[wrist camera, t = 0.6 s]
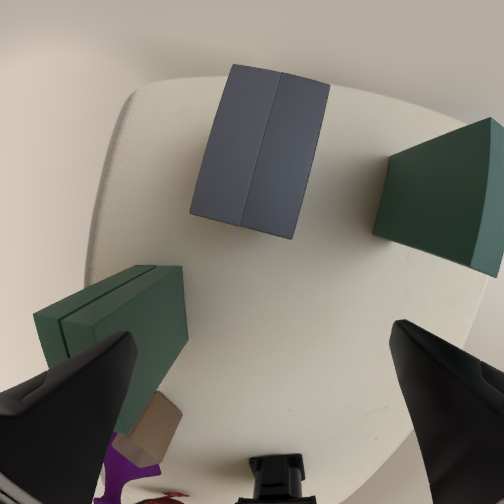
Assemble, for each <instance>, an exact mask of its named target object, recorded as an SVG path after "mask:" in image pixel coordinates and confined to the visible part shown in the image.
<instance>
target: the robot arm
mask: <svg viewBox="0 0 504 504" xmlns="http://www.w3.org/2000/svg"><path fill="white" fill-rule="evenodd" d="M389 346H390V350H391V354H392V358H393V362H394V365H395V370H396V374H397V378H398V381H399V385H400V388H401V391H402V393H403V396H404V399H405V402H406V405H407V408H408V411H409V414H410V417H411V420H412V423H413V426H414V429H415V433H416V436H417V439H418V443H419V446H420V449H421V453H422V457H423V460H424V465H425V468H426V472H427V476H428V481H429V484H430V490H431V494H432V500H433V504H504V372H502V371H499V370H498V369H496V368H494V367H492V366H490V365H488V364H487V363H485V362H483V361H480V360H479V359H478V358H476V357H474V356H472V355H470V354H469V353H467V352H465V351H463V350H461V349H459V348H458V347H456V346H454V345H452V344H450V343H449V342H447V341H445V340H443V339H441V338H439V337H438V336H436V335H434V334H432V333H430V332H428V331H426V330H425V329H423V328H421V327H419V326H417V325H415V324H414V323H412V322H410V321H408V320H406V319H403V320H396V321H395V322H394V323H393V327H392V331H391V336H390V340H389ZM137 356H138V348H137V346H136V343H135V341H134V338H133V335H132V333H131V332H130V331H124V330H120V331H118V332H116V333H114V334H112V335H110V336H109V337H107V338H105V339H103V340H101V341H100V342H98V343H96V344H94V345H92V346H90V347H89V348H87V349H85V350H83V351H81V352H80V353H78V354H76V355H74V356H72V357H70V358H69V359H67V360H65V361H63V362H61V363H59V364H58V365H56V366H54V367H52V368H50V369H48V371H45V372H43V373H41V374H39V375H38V376H35V377H33V378H32V379H30V380H27V381H25V382H23V383H21V384H19V385H17V386H14V387H12V388H10V389H8V390H5V391H3V392H1V393H0V504H92V501H93V497H94V493H95V489H96V486H97V481H98V478H99V475H100V472H101V468H102V465H103V462H104V459H105V455H106V452H107V449H108V446H109V443H110V440H111V437H112V434H113V431H114V428H115V425H116V423H117V420H118V417H119V414H120V411H121V409H122V406H123V403H124V400H125V398H126V395H127V392H128V389H129V386H130V383H131V379H132V375H133V371H134V367H135V364H136V360H137ZM249 464H250V467H251V470H252V472H253V475H254V477H255V483H254V492H253V499H249V498H240V497H239V499H238V502H236V503H235V504H317V503H316V497H315V496H310V497H302V485H301V481H303V480H305V473H304V465H303V458H302V455H301V454H295V455H287V456H277V457H264V458H251V459H249Z"/></svg>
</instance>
